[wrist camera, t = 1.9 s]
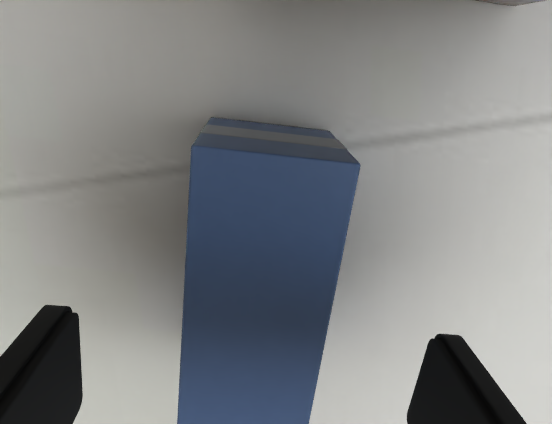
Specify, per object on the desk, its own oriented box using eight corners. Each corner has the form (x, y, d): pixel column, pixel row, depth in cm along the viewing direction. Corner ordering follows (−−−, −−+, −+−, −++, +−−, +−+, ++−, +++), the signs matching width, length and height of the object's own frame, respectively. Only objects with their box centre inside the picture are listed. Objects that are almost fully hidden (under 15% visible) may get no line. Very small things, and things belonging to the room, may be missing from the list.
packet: (210, 116, 15) (190, 144, 11) (330, 130, 16) (362, 163, 11) (195, 338, 19) (175, 432, 14) (294, 345, 19) (306, 439, 14)
